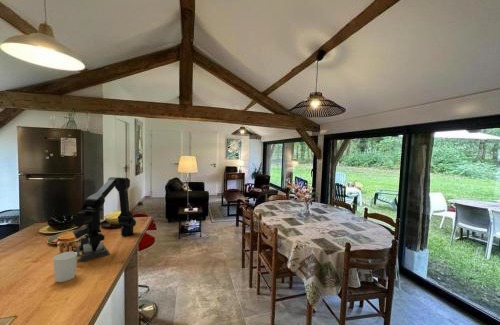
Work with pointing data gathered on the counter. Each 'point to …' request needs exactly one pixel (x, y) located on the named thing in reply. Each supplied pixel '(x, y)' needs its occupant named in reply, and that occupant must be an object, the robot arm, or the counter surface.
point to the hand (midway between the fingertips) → (93, 249)
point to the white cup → (65, 266)
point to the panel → (88, 248)
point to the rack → (90, 255)
